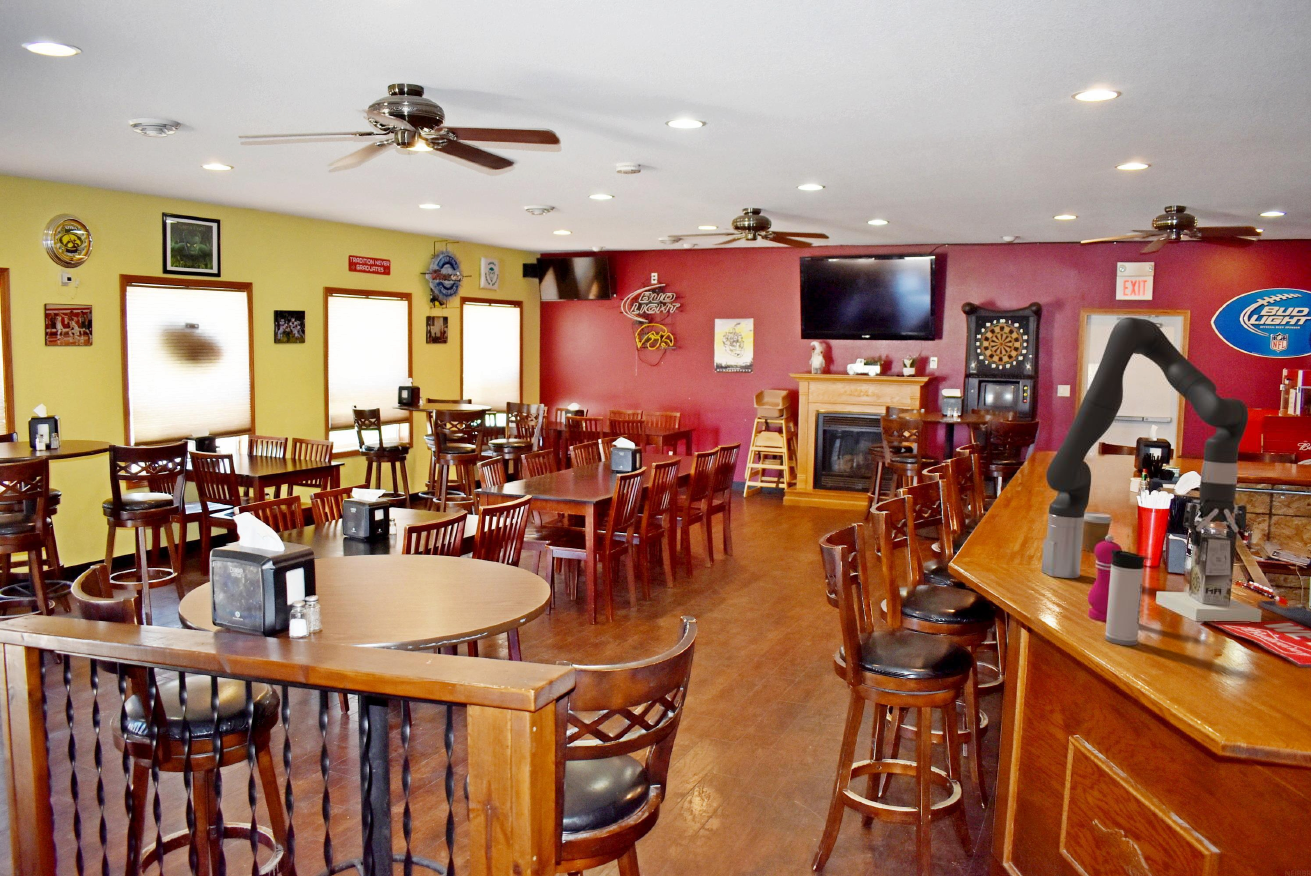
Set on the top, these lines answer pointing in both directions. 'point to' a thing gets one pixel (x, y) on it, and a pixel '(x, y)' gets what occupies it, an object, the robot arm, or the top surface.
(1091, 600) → the pepper mill
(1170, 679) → the top surface
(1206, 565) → the coffee box
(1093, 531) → the disposable coffee cup
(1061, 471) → the robot arm
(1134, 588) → the travel mug
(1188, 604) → the plinth
